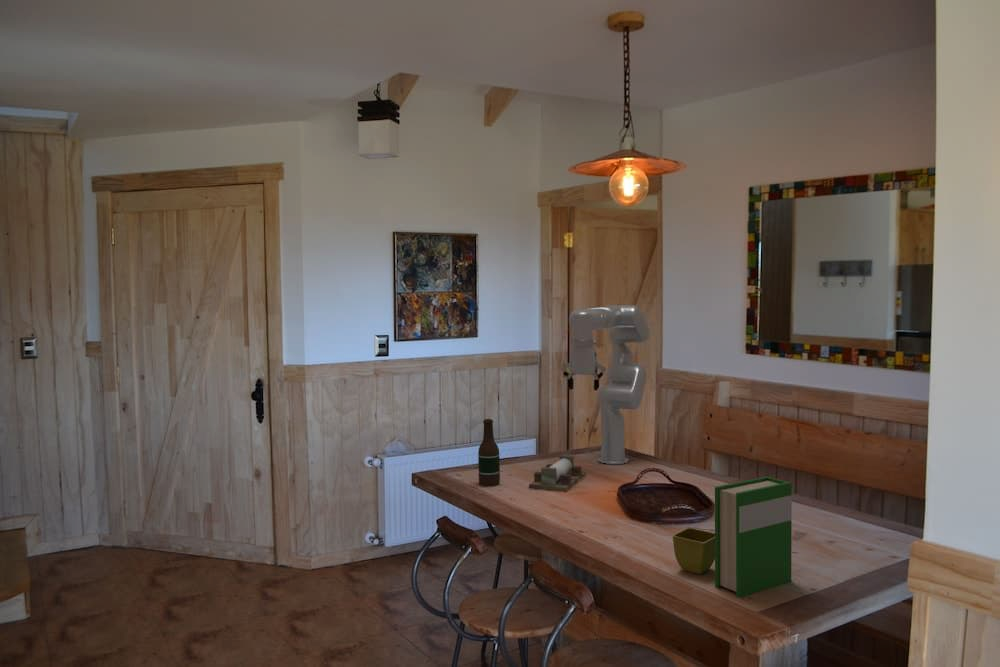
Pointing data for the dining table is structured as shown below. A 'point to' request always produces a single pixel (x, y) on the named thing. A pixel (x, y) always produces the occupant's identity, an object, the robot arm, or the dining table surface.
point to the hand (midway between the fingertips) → (583, 389)
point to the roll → (562, 467)
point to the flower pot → (694, 549)
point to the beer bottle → (488, 457)
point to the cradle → (549, 477)
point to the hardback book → (753, 535)
